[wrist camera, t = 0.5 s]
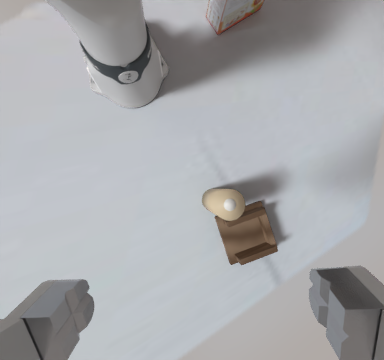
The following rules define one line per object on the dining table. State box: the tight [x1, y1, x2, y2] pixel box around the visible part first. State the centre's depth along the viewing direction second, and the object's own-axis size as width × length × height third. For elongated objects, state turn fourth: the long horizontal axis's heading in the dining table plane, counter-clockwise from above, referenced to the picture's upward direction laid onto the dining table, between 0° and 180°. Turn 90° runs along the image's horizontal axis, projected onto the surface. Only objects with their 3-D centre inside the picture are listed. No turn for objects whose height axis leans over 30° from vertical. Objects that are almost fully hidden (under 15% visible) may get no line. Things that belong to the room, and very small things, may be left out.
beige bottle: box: [202, 189, 245, 221], centre depth 42 cm, size 6×6×14 cm
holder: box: [215, 201, 278, 265], centre depth 47 cm, size 12×12×5 cm
